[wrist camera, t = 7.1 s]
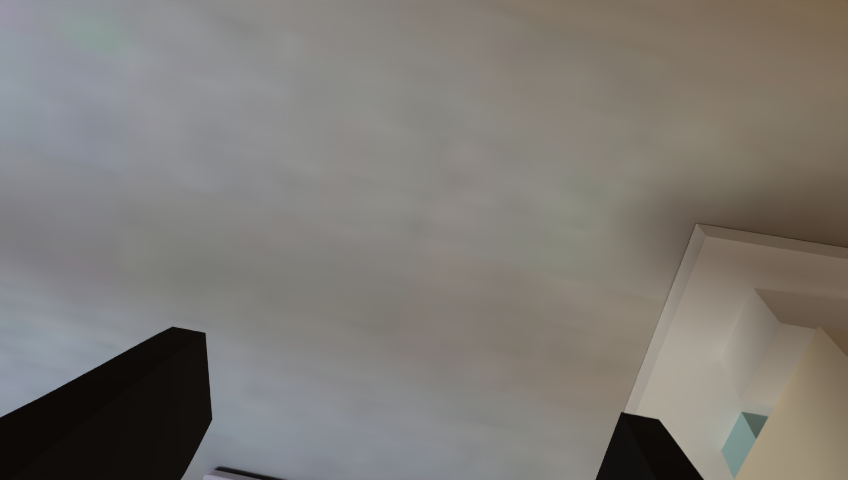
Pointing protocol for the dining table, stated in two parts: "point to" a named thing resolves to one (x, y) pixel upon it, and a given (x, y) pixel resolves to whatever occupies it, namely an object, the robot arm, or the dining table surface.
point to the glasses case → (807, 418)
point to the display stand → (735, 339)
